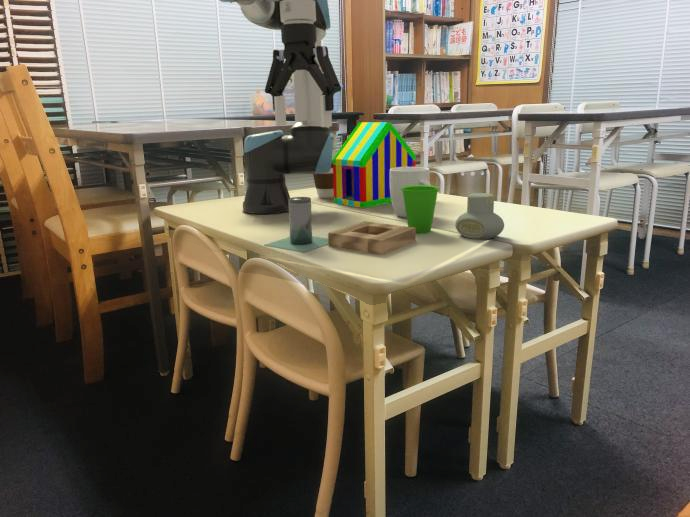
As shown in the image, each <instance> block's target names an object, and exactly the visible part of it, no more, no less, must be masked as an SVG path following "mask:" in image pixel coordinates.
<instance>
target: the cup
mask: <svg viewBox="0 0 690 517" xmlns="http://www.w3.org/2000/svg"><path fill="white" fill-rule="evenodd" d="M401 190H403V197H404V203H405V210H406V217H407V218H406V224H407V227H414V228H416V234H428V233H431V231H432V226H433V220H434V213H435V210H436V209H435V208H436V204H437V203H436V202H437V196H438V192H439V190H440V187H439V186H435V185H431V186H429V185H412V186H405V187H402V188H401Z"/></svg>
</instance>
